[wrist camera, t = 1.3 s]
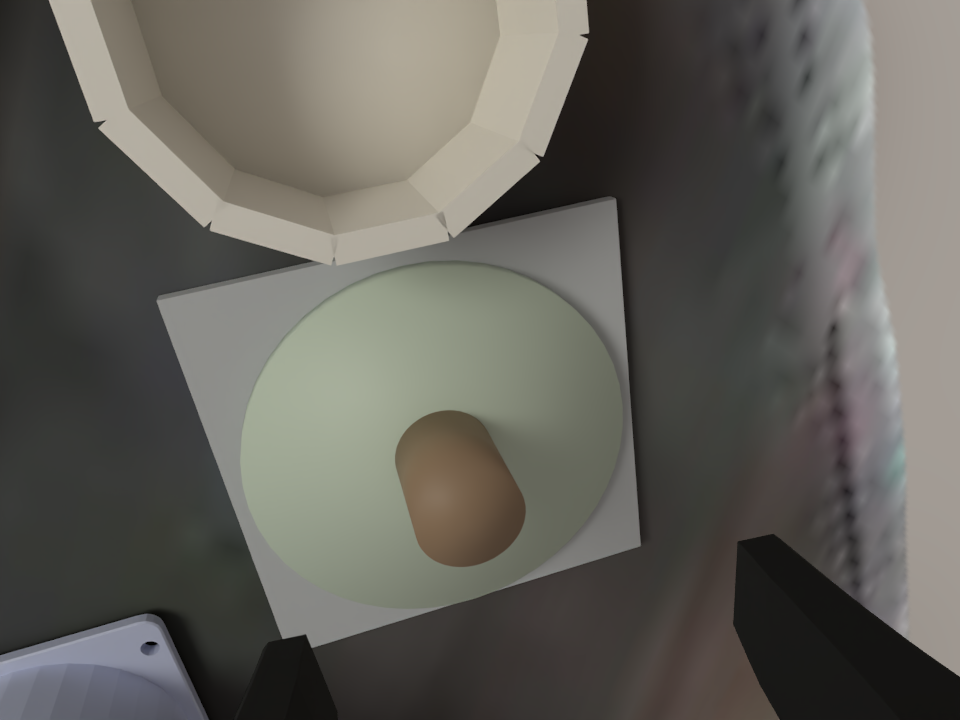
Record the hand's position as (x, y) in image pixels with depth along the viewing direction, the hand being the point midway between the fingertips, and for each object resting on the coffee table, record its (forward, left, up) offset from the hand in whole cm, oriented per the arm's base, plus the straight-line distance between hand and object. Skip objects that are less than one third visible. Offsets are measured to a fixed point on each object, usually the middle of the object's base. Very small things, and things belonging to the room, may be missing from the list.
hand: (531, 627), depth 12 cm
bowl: (+10, +1, -10) cm, 14 cm away
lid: (-2, 0, -9) cm, 9 cm away
